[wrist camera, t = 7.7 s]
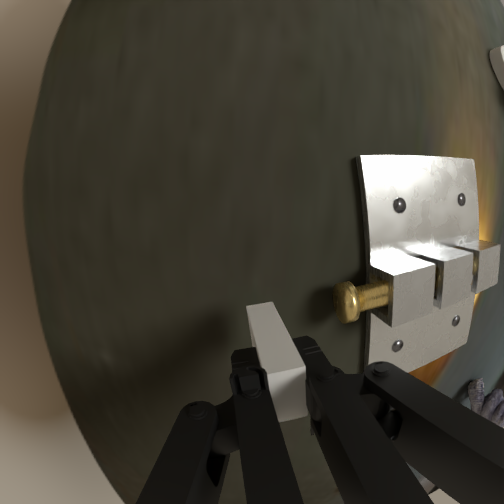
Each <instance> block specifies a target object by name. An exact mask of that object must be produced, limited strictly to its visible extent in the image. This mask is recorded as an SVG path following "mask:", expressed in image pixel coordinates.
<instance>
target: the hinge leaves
mask: <svg viewBox="0 0 504 504" xmlns="http://www.w3.org/2000/svg"><path fill="white" fill-rule="evenodd" d="M356 163H357V170H358V177H359V185H360V194H361V203H362V214H363V225H364V240H365V258H366V284H370V283H374V282H378V281H382V280H386V281H388V282H389V295H388V304H387V305H384V306H381V307H377V308H374V309H370V310H366V339H365V357H364V370H365V368H366V366H368V365H369V364H371V363H373V362H377V361H385V362H389V363H392V364H394V365H395V366H397V367H399V368H400V369H402V370H404V371H405V372H407V373H408V372H410V371H413V370H415V369H417V368H419V367H421V366H423V365H425V364H428V363H430V362H432V361H434V360H436V359H438V358H440V357H441V356H443V355H445V354H447V353H449V352H451V351H453V350H455V349H456V348H458V347H460V346H462V345H464V344H465V343H467V338H468V334H469V329H470V323H471V318H472V312H473V305H474V298H475V294H477V293H479V292H481V291H483V290H485V289H487V288H489V287H491V286H493V285H495V284H497V281H498V271H499V259H500V244H497V243H492V242H488V241H483V240H479V211H478V193H477V182H476V172H475V164H474V159H464V158H452V157H435V156H410V155H361V156H357V157H356ZM473 256H474V257H475V258H474V273H473V275H472V271H473ZM435 267H438V268H439V276H438V288H437V289H434V287H435ZM363 373H364V371H363Z"/></svg>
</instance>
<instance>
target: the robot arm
mask: <svg viewBox="0 0 504 504" xmlns="http://www.w3.org/2000/svg"><path fill="white" fill-rule="evenodd" d="M246 308H247V315H248V321H249V327H250V333H251V339H252V346H253V347H251V348H245V349H239V350H235V351H234V352H233V354H232V356H231V363H232V373H231V374H230V378H229V380H230V384H231V388H232V392H233V395H232V396H231V398H230V399H228V400H227V401H226V402H224V403H221V404H219V405H216V406H214V405H212V404H211V403H209V402H205V401H196V402H193V403H189V404H188V405H186V406H185V407H183V409H182V410H181V411H180V413H179V415H178V417H177V419H176V421H175V423H174V426H173V428H172V430H171V432H170V434H169V436H168V438H167V440H166V442H165V444H164V446H163V448H162V451H161V453H160V455H159V457H158V459H157V461H156V463H155V465H154V467H153V469H152V471H151V473H150V475H149V477H148V480H147V482H146V484H145V486H144V488H143V490H142V492H141V494H140V496H139V498H138V500H137V502H136V504H218V501H219V498H220V494H221V490H222V486H223V482H224V478H225V474H226V470H227V466H228V462H229V457H230V453H231V452H234V451H236V450H239V449H240V456H241V464H242V472H243V479H244V486H245V493H246V500H247V504H304V503H303V500H302V497H301V493H300V490H299V487H298V484H297V481H296V477H295V474H294V471H293V468H292V464H291V461H290V458H289V455H288V451H287V448H286V445H285V441H284V438H283V435H282V431H281V428H280V425H279V422H283V421H287V420H292V419H296V418H300V417H304V416H308V413H307V408H308V411H309V413H310V415H311V435H314V433H315V435H316V437H317V440H318V442H319V445H320V447H321V449H322V452H323V454H324V457H325V459H326V461H327V464H328V466H329V468H330V471H331V473H332V475H333V478H334V480H335V482H336V485H337V487H338V489H339V492H340V494H341V496H342V499H343V501H344V503H345V504H434V503H433V502H432V500H431V499H430V497H429V496H428V494H427V493H426V491H425V490H424V488H423V487H422V485H421V484H420V483H419V481H418V480H417V478H416V477H415V475H414V474H413V472H412V471H411V469H410V468H409V466H408V465H407V463H408V464H409V465H411V466H412V467H413V468H414V469H416V470H417V471H418V472H419V473H421V474H422V475H423V476H424V477H426V478H427V479H428V480H429V481H431V482H432V483H433V484H435V485H436V486H437V487H438V488H440V489H441V490H442V491H444V492H445V493H447V494H448V495H449V496H450V497H452V498H453V499H455V500H456V501H457V502H459V503H460V504H504V428H502V427H500V426H498V425H497V424H495V423H493V422H491V421H489V420H488V419H486V418H484V417H482V416H481V415H479V414H477V413H475V412H474V411H472V410H470V409H468V408H467V407H465V406H463V405H461V404H460V403H458V402H456V401H454V400H453V399H451V398H449V397H448V396H446V395H444V394H442V393H441V392H439V391H437V390H436V389H434V388H432V387H430V386H429V385H427V384H425V383H424V382H422V381H420V380H419V379H417V378H415V377H414V376H412V375H410V374H409V373H407V372H405V371H404V370H402V369H400V368H399V367H397V366H395V365H394V364H392V363H389V362H385V361H377V362H373V363H371V364H369V365H368V366H366V368H365V370H364V373H361V374H344V372H343V371H342V370H341V369H339V368H337V367H334V366H332V365H331V364H330V362H329V361H328V359H327V358H326V356H325V355H324V353H323V352H322V351H321V349H320V347H318V344H317V343H316V341H315V340H314V339H312V338H310V337H308V336H303V337H299V338H294V339H291V337H290V335H289V333H288V331H287V329H286V327H285V325H284V323H283V321H282V320H281V318H280V316H279V314H278V312H277V310H276V308H275V306H274V304H273V302H267V303H262V304H256V305H250V306H246ZM405 461H406V462H407V463H406V462H405Z"/></svg>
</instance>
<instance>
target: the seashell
mask: <svg viewBox="0 0 504 504" xmlns="http://www.w3.org/2000/svg"><path fill="white" fill-rule="evenodd" d="M482 380H483V379H482V378H481V379H475V380H474V381H472V382H470V384H469V385H468V394H469V399H470V402H471V410H472V411H474V412H475V413H477V414H479V415H481V416H482V417H484V418H486V419H488V420H489V421H491V422H493V423H495V424H497V425H498V426H500V427H502V428H503V427H504V398H503V391H502V390H501V389H494V390H493V391H492V393H490V394H488V395H486V396H485V398H484V394H483V393H484V390H482V388H484V383H483V381H482Z"/></svg>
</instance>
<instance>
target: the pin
mask: <svg viewBox="0 0 504 504" xmlns="http://www.w3.org/2000/svg"><path fill="white" fill-rule="evenodd" d="M474 258H475V257H474V256H473V271H472V275H473V273H474ZM438 276H439V268H438V267H435V287H434V289H437V288H438ZM388 295H389V282H388V281H386V280H382V281H378V282H374V283H370V284H366V285H361V286H357V287H355V286H354V285H353V284H352V283H351V282H349V281H347V282H342V283H337V284H335V286H334V289H333V303H334V308H335V312H336V314H337V317H338V319H339V320H340V321H341V322H342V323H343V324H346V323H349V322H353V321H356V320H358V318H359V315H360V312H363V311H366V310H370V309H374V308H377V307H381V306H384V305H387V304H388Z"/></svg>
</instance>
